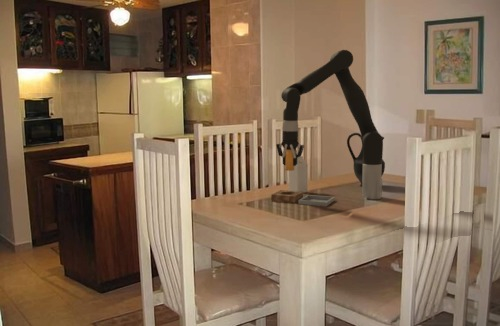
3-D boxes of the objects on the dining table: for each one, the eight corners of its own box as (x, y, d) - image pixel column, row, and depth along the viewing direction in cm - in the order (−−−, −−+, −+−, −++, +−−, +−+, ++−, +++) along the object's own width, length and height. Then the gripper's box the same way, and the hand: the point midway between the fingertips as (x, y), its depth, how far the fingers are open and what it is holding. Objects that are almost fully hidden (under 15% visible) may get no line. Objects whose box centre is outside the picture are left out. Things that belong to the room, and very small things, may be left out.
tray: (334, 202, 244) (334, 196, 244) (326, 207, 232) (326, 202, 232) (307, 199, 250) (307, 194, 249) (298, 205, 238) (298, 200, 237)
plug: (295, 169, 245) (295, 149, 244) (292, 170, 241) (292, 150, 240) (287, 169, 247) (287, 148, 246) (283, 170, 243) (284, 149, 242)
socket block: (303, 199, 250) (303, 191, 250) (294, 204, 239) (294, 196, 239) (280, 197, 255) (280, 190, 255) (271, 202, 245) (271, 194, 244)
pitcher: (385, 189, 273) (386, 134, 269) (346, 188, 277) (346, 134, 273) (383, 183, 290) (384, 131, 286) (346, 182, 294) (347, 131, 290)
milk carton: (288, 192, 270) (288, 156, 267) (298, 190, 274) (298, 155, 271) (297, 194, 264) (297, 158, 262) (307, 192, 268) (307, 156, 266)
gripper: (307, 130, 242) (306, 165, 244) (279, 129, 248) (279, 163, 250) (301, 131, 235) (301, 167, 238) (273, 130, 241) (273, 165, 244)
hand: (289, 165), depth 244 cm, fingers closed on plug, 4 cm apart
